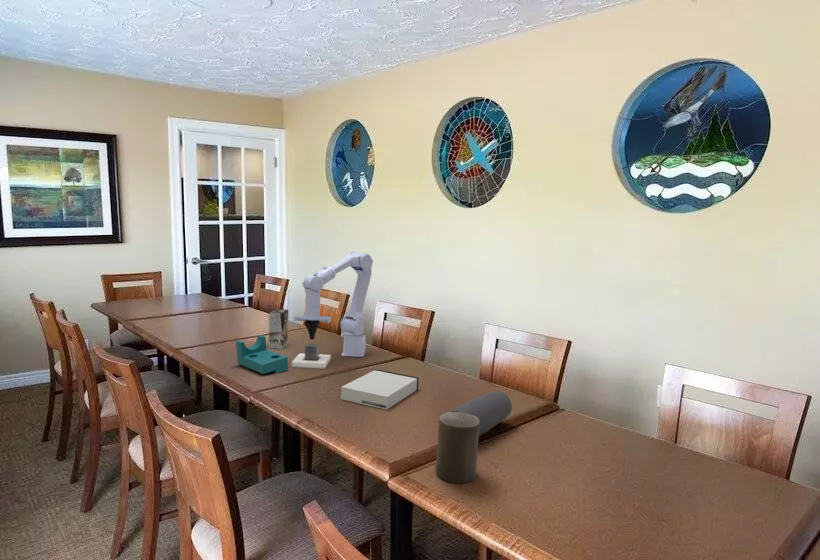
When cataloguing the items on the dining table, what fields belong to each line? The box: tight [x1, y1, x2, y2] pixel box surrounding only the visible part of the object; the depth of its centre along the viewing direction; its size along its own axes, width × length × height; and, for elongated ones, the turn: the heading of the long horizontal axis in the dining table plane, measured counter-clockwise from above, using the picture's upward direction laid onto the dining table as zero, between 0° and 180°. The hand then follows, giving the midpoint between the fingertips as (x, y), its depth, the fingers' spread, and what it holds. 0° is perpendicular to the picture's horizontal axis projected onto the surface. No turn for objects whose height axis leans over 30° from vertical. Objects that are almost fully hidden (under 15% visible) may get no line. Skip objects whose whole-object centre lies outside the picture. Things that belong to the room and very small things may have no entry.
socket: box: [291, 353, 332, 370], centre depth 212 cm, size 13×13×2 cm
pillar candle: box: [435, 411, 480, 485], centre depth 125 cm, size 10×10×15 cm
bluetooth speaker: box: [450, 390, 513, 437], centre depth 150 cm, size 23×9×10 cm, turn 141°
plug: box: [304, 342, 320, 361], centre depth 211 cm, size 5×6×7 cm
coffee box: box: [268, 308, 289, 350], centre depth 235 cm, size 9×6×16 cm
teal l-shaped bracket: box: [235, 334, 289, 375], centre depth 202 cm, size 18×11×10 cm, turn 47°
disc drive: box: [340, 368, 419, 411], centre depth 179 cm, size 18×22×5 cm
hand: (312, 338), depth 211 cm, fingers closed
